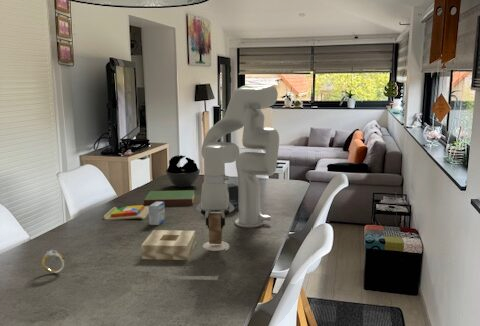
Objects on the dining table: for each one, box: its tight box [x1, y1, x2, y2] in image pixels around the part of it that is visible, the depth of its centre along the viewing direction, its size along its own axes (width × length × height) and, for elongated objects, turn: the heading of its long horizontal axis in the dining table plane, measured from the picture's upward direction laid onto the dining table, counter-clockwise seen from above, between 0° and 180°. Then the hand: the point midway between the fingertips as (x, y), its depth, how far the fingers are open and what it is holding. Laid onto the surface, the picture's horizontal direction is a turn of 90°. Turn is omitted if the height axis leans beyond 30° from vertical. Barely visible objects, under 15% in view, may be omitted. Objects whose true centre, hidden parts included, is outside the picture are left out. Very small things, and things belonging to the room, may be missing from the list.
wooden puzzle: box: [103, 204, 149, 221], centre depth 211 cm, size 18×19×4 cm
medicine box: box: [148, 202, 166, 226], centre depth 197 cm, size 8×4×9 cm, turn 168°
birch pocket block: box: [140, 229, 197, 261], centre depth 161 cm, size 16×16×6 cm
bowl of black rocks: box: [165, 154, 201, 188], centre depth 264 cm, size 20×20×19 cm
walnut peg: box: [208, 211, 223, 244], centre depth 165 cm, size 4×4×11 cm
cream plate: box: [202, 240, 230, 252], centre depth 166 cm, size 10×10×1 cm
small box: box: [210, 182, 239, 212], centre depth 216 cm, size 13×7×12 cm, turn 123°
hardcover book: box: [143, 189, 195, 207], centre depth 234 cm, size 25×19×4 cm
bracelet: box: [41, 249, 66, 274], centre depth 145 cm, size 7×3×8 cm, turn 86°
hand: (215, 226), depth 165 cm, fingers closed on walnut peg, 4 cm apart
